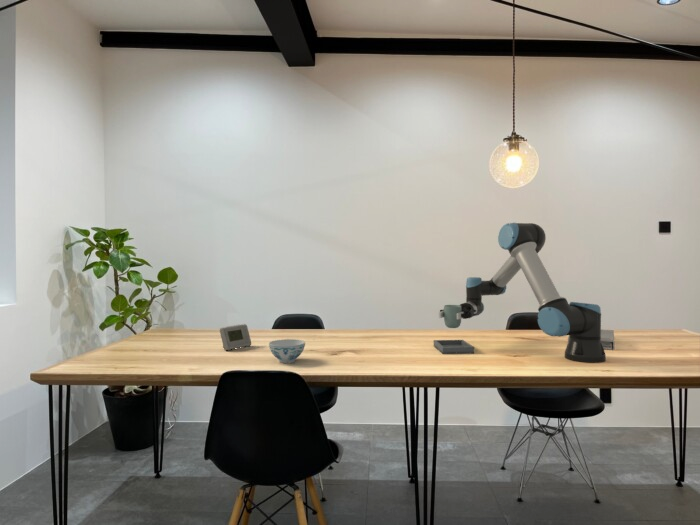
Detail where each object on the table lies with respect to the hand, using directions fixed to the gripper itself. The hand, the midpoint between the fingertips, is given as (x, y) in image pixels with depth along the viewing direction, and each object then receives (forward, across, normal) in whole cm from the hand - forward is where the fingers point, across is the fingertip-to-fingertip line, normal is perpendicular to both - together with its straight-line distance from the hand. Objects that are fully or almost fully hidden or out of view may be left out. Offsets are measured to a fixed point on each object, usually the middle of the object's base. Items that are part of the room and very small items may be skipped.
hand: (448, 315), depth 212 cm
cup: (-5, 0, -6) cm, 8 cm away
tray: (-5, 0, -16) cm, 17 cm away
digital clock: (+46, +88, -17) cm, 101 cm away
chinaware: (+53, +49, -16) cm, 74 cm away
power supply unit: (-56, -51, -17) cm, 78 cm away
